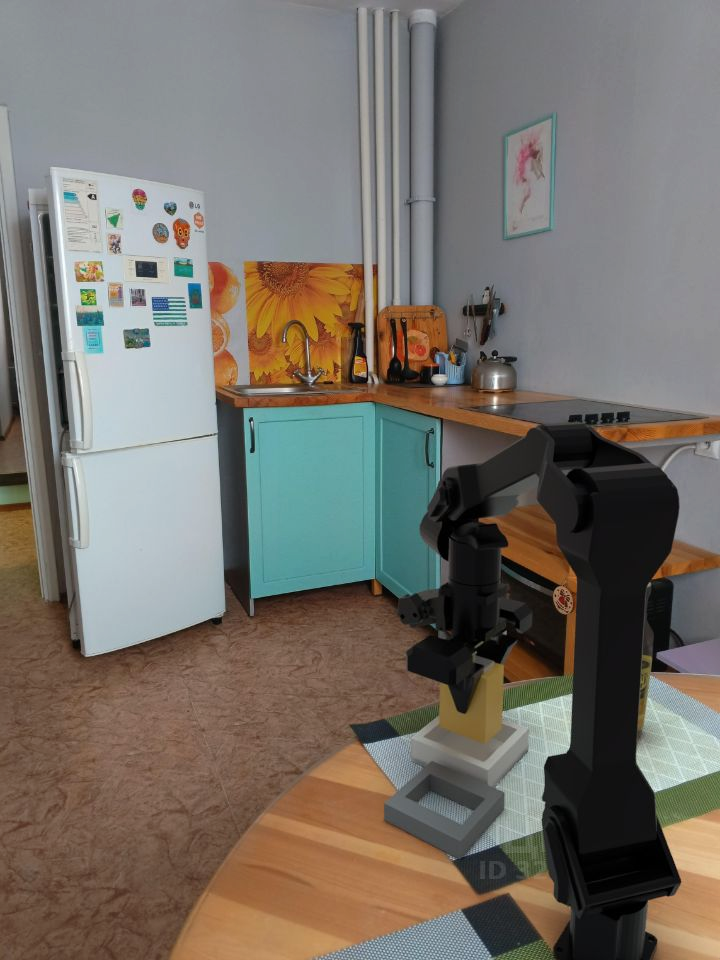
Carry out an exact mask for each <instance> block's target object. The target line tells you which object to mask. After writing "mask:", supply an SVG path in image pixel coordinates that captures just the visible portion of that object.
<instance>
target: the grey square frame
mask: <svg viewBox="0 0 720 960" xmlns="http://www.w3.org/2000/svg"><path fill="white" fill-rule="evenodd" d="M429 791H432V792H433V793H435V794H437V795H439V796H442V797H444V798H446V799H448V800H450V801H453V802H455V803H457V804H459V805H462V806H463V807H466V808H468V809H470V810H472V811H473V812H472V813H470V814H469V816H468V817H467V818H466V819H465V820H464V821H463V822H462V824H461V823H460V822H457V821H455V820H454V819H451V818H449V817H447V816H445V815H443V814H441V813H439V812H438V811H437V812H436V811H435V810H432V809H430V808H429V807H427V806H424V805H422V804H420V803H418V802H419V801H420V800H421V798H423V797H424V796H425V795H426V794H427V793H428V792H429ZM505 796H506V795H505V791H502V790H500V789H498V788H496V787H494V788H493V787H491V786H489V785H487V784H484V783H482V782H480V781H477V780H475V779H473V778H470V777H468V776H466V775H463V774H461V773H459V772H457V771H454V770H452V769H450V768H447V767H445V766H443V765H440V764H438V763H436V762H433V761H431V762H430V763H429V764H428V765H426V766H425V767H424V766H423V768H422V769H421V770H420V771H418V772H417V773H416V774H415V775H414V776H413V777H412V778H411V779H409V780H408V781H407V782H406V783H405V784H404V785H403V786H402V787H400V789H398V790H397V791H396V792H395V793H394V794H393V795H392V796H390V797H389V798H388V799H387V800H386V801H385V802H384V803H383V820H384V821H385V822H387V823H388V824H390V825H393V826H395V827H397V828H399V829H400V830H403V831H404V832H406V833H408V834H409V835H412V836H414V837H416V838H418V839H420V840H422V842H423V841H424V842H425V843H427V844H429V845H431V846H433V847H435V848H437V849H439V850H441V851H442V852H445V853H447V854H448V855H449V856H453V857H454V858H455V859H458V860H461V859H462V858H463V857H464V856H465V854H466V853H467V852H468V851H469V850H470V849H471V848H472V846H474V844H475V843H476V842H477V841H478V840H479V838H480V837H481V836H482V835H483V834H484V833H485V831H487V829H488V828H489V827H490V826H491V825H492V824H493V823H494V821H495V820H496V819H497V818H498V817H499V815H500V814H501V813H502V812H503V811H504V810H505ZM470 847H471V848H470ZM469 848H470V849H469ZM467 850H468V851H467Z"/></svg>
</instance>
